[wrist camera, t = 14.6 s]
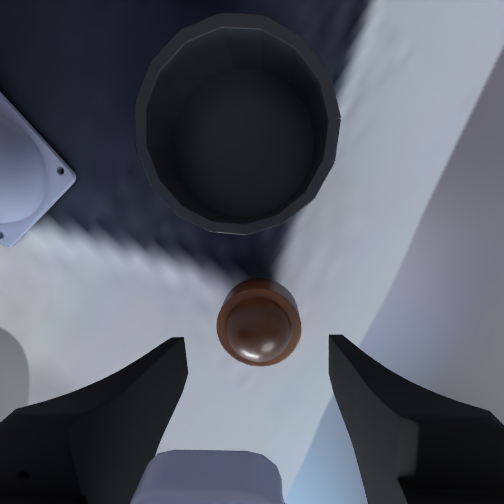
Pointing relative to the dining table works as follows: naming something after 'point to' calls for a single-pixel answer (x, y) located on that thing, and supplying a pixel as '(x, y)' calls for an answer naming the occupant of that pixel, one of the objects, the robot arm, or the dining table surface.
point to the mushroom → (259, 323)
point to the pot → (237, 123)
